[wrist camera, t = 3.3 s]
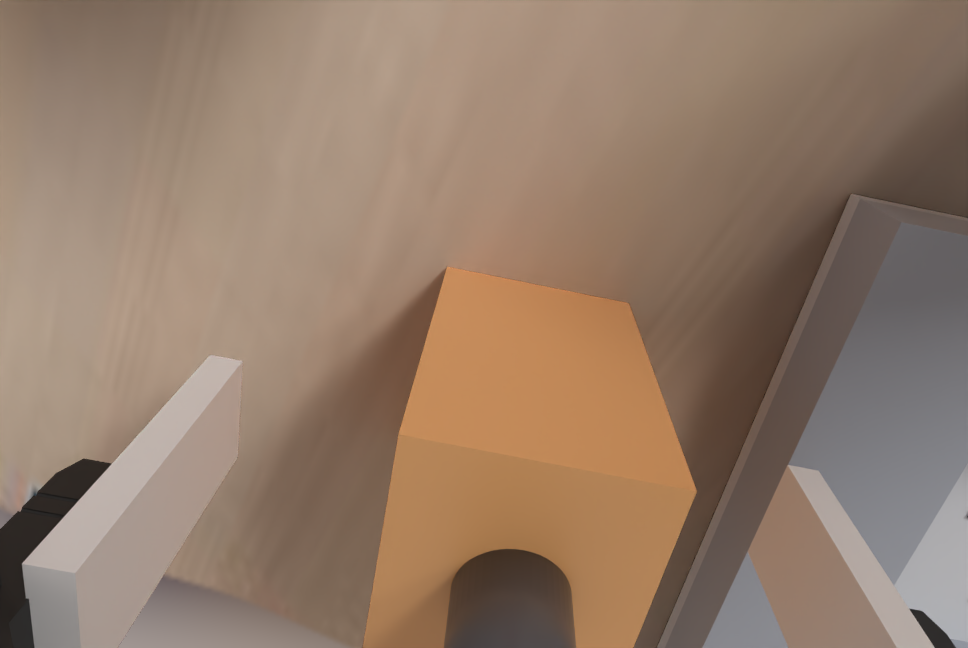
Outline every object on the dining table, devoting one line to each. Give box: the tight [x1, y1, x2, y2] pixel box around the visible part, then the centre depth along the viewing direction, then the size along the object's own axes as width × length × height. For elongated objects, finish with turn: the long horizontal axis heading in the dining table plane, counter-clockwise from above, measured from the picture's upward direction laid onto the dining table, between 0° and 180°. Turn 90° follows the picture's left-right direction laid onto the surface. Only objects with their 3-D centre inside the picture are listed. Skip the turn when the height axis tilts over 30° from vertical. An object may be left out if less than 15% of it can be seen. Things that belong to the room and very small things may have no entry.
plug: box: [362, 267, 697, 648], centre depth 15 cm, size 6×5×11 cm
